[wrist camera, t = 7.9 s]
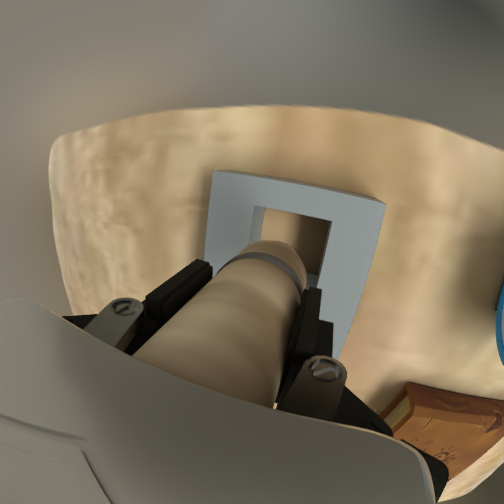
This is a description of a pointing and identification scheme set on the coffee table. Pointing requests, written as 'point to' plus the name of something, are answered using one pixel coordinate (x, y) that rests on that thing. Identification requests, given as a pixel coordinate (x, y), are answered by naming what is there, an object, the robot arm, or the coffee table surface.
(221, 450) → the robot arm
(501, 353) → the alarm clock
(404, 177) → the coffee table surface
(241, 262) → the dowel
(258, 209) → the board
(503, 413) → the diary
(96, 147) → the coffee table surface
